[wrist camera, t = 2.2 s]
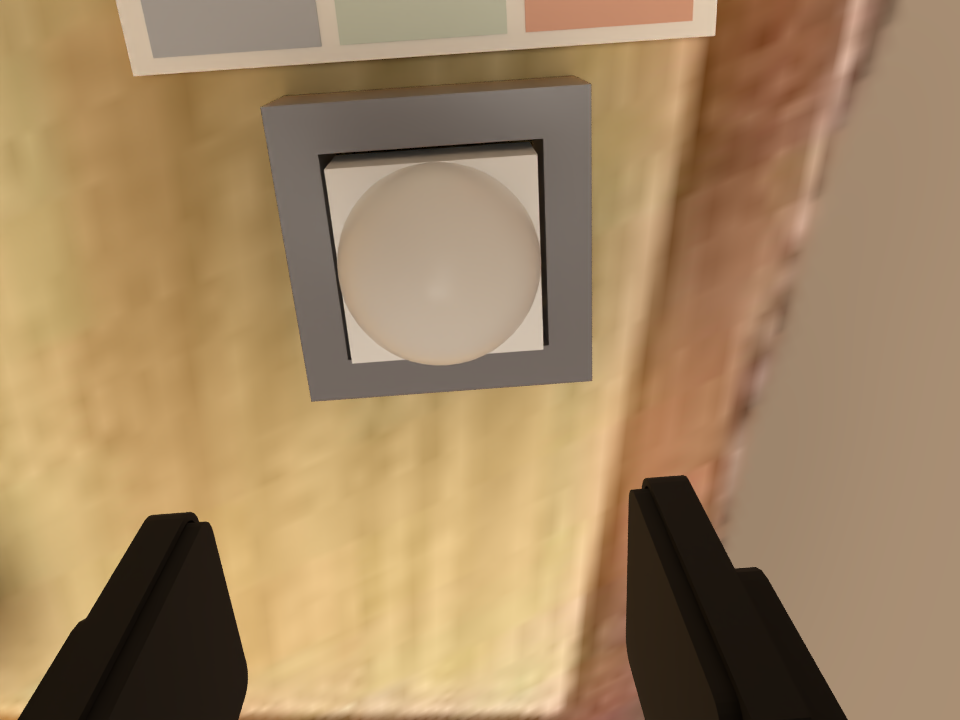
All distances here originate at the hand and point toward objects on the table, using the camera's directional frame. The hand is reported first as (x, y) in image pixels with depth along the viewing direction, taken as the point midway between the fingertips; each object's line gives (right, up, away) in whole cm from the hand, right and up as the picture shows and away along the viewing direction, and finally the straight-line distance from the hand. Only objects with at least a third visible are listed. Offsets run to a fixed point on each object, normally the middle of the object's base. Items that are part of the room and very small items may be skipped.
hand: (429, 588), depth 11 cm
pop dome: (-1, +7, +17) cm, 18 cm away
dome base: (-1, +8, +18) cm, 20 cm away
